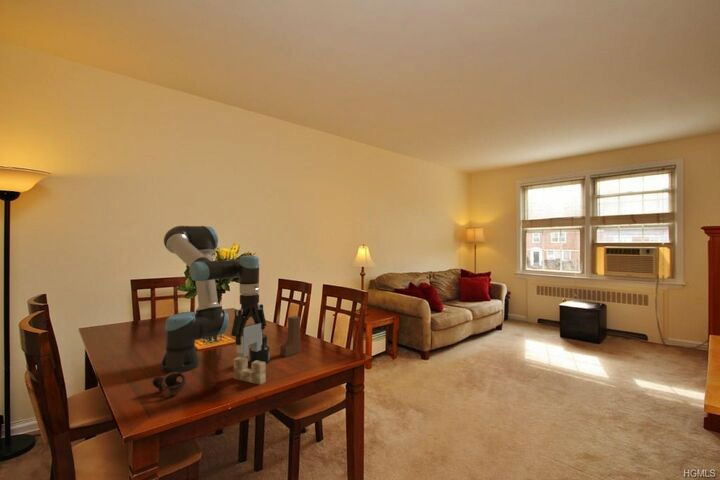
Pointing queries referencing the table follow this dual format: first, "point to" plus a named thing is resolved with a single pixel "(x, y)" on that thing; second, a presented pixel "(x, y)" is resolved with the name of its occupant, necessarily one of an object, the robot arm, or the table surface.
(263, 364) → the slotted board
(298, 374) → the table surface
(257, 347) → the slotted plate
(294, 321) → the wooden block
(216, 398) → the table surface
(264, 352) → the ink bottle
